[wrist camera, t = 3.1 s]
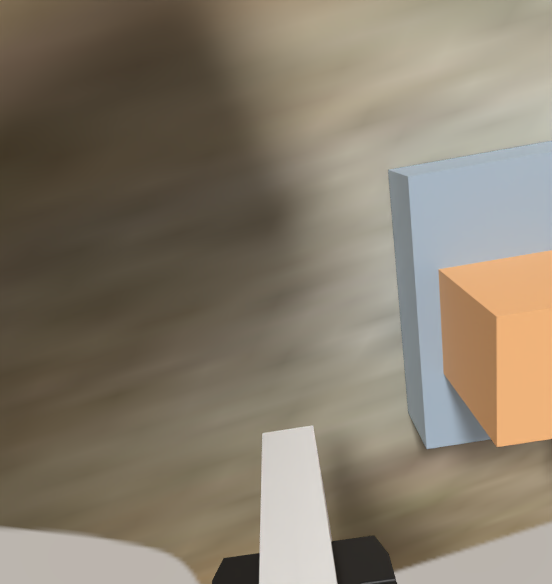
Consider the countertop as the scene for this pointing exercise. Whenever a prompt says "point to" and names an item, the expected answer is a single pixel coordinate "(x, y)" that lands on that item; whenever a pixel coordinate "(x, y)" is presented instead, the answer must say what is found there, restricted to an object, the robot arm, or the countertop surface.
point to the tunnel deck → (459, 259)
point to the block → (501, 343)
